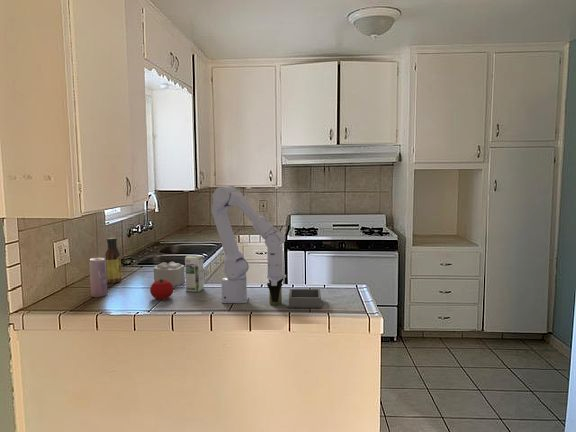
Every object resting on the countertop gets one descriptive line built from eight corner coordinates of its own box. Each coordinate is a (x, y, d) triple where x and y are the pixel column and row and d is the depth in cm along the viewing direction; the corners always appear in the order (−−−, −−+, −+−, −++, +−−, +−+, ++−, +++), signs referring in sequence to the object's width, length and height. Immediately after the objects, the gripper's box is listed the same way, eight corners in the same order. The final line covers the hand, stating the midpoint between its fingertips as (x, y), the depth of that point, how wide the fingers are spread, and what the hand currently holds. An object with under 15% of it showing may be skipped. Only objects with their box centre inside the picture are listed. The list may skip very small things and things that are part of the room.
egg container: (176, 286, 188) (176, 266, 187) (149, 284, 190) (148, 265, 189) (186, 280, 198) (186, 261, 197) (160, 278, 200) (159, 260, 199)
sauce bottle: (123, 282, 195) (121, 238, 193) (108, 284, 191) (106, 239, 189) (119, 279, 200) (117, 236, 198) (105, 281, 197) (103, 238, 195)
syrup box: (185, 291, 180) (184, 257, 178) (192, 287, 185) (191, 254, 184) (197, 292, 178) (196, 257, 176) (204, 288, 184) (203, 254, 182)
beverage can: (102, 292, 179) (100, 256, 177) (110, 294, 176) (108, 258, 174) (88, 295, 174) (86, 259, 173) (96, 298, 171) (94, 261, 169)
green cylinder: (269, 305, 160) (268, 289, 160) (269, 301, 165) (269, 286, 164) (281, 305, 160) (281, 289, 160) (282, 301, 165) (281, 286, 164)
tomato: (145, 300, 168) (144, 280, 167) (160, 294, 176) (159, 275, 175) (164, 303, 164) (163, 282, 163) (178, 296, 172) (177, 276, 172)
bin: (288, 308, 157) (288, 298, 156) (289, 298, 168) (289, 288, 168) (321, 308, 156) (321, 298, 156) (319, 299, 168) (319, 289, 167)
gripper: (285, 268, 153) (285, 305, 155) (286, 259, 168) (286, 293, 169) (265, 268, 154) (265, 305, 155) (268, 259, 168) (268, 293, 170)
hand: (275, 299), depth 162 cm, fingers closed on green cylinder, 5 cm apart
